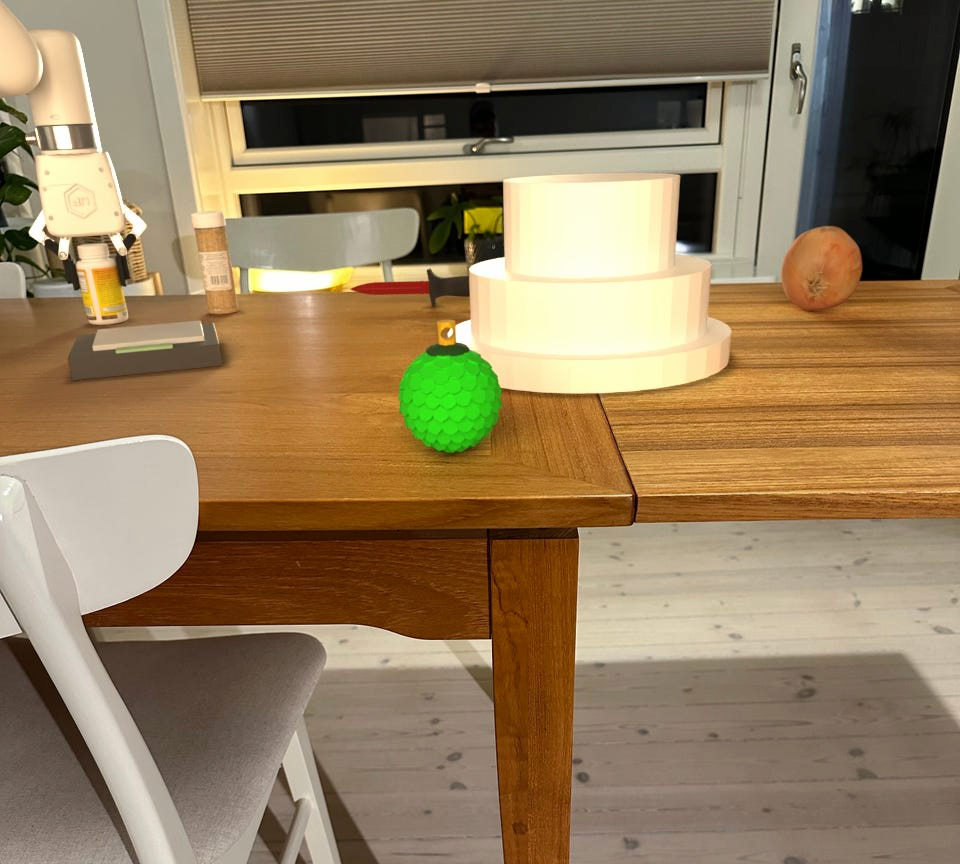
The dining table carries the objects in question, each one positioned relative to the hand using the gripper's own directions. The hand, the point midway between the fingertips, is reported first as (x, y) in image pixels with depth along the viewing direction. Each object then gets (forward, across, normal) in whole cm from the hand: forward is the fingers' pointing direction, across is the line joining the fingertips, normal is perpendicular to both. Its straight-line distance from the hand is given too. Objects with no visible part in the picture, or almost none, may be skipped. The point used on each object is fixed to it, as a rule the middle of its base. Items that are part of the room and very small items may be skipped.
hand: (100, 285), depth 133 cm
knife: (+5, +45, -10) cm, 46 cm away
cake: (+5, +52, -52) cm, 74 cm away
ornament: (+5, +30, -78) cm, 84 cm away
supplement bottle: (+5, 0, 0) cm, 5 cm away
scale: (+5, +6, -30) cm, 31 cm away
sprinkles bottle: (+5, +16, 0) cm, 17 cm away
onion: (+5, +89, -39) cm, 97 cm away
